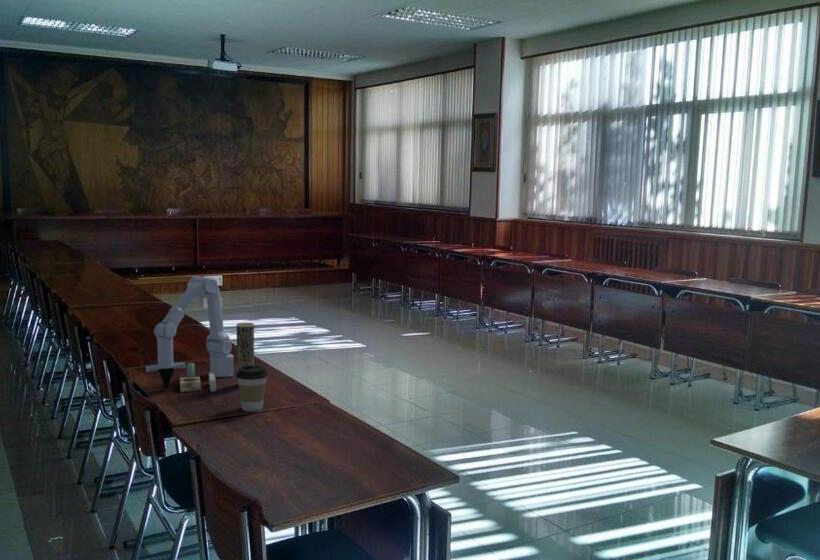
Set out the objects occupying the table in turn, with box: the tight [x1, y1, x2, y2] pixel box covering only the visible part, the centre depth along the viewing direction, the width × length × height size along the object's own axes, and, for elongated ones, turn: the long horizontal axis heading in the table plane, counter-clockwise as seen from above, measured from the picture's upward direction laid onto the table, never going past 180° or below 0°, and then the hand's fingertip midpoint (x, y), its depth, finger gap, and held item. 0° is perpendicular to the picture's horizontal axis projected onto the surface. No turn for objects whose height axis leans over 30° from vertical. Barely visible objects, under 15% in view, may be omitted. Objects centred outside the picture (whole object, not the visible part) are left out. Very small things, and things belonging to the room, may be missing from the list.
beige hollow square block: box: [179, 376, 202, 393], centre depth 293 cm, size 8×8×4 cm
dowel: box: [186, 362, 196, 378], centre depth 301 cm, size 3×3×8 cm
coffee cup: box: [235, 364, 269, 413], centre depth 269 cm, size 11×11×15 cm
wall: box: [208, 373, 217, 392], centre depth 296 cm, size 2×12×4 cm, turn 18°
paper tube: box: [236, 322, 255, 387], centre depth 299 cm, size 7×7×25 cm
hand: (166, 387), depth 291 cm, fingers closed
